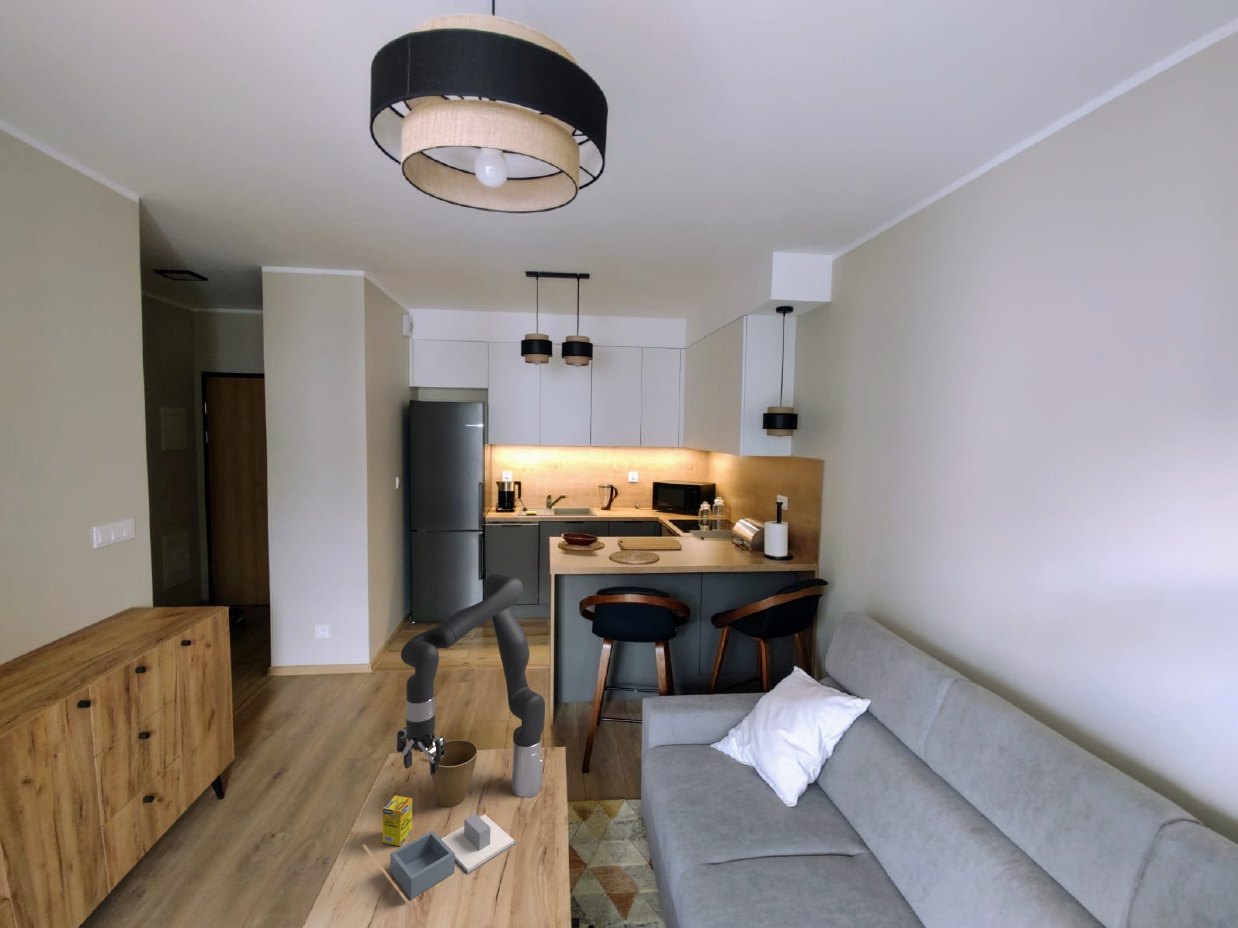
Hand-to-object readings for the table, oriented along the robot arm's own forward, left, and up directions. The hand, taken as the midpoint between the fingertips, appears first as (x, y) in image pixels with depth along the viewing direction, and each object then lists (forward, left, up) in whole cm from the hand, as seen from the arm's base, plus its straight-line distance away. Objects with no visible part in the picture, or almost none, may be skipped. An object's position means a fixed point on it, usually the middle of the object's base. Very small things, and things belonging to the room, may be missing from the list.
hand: (421, 770), depth 149 cm
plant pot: (-19, -15, -25) cm, 35 cm away
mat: (-14, +7, -25) cm, 29 cm away
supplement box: (+1, -11, -25) cm, 28 cm away
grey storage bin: (+2, +6, -25) cm, 26 cm away
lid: (-14, +7, -25) cm, 29 cm away
